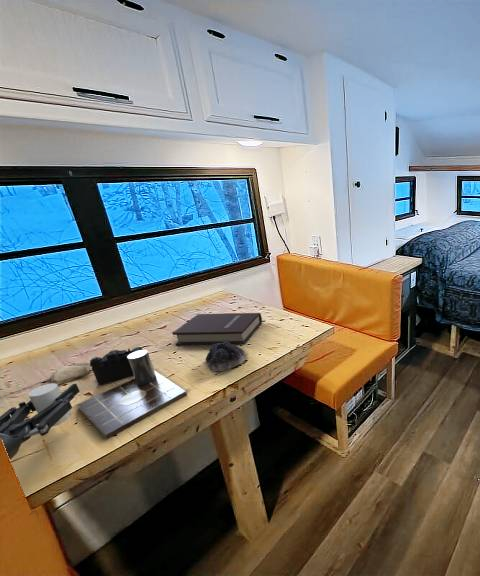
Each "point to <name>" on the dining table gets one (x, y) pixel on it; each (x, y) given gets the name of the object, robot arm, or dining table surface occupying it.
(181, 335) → the book
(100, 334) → the dining table surface
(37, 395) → the white plastic cylinder
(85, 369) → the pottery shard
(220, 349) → the crystal cluster
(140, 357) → the shiny metal cylinder
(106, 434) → the grid board
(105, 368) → the camera
